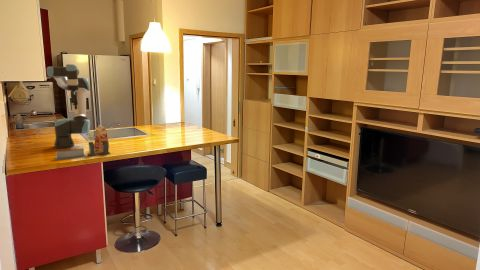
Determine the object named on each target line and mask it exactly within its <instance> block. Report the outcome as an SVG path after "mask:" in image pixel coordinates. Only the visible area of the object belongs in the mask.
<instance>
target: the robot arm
mask: <svg viewBox="0 0 480 270" xmlns="http://www.w3.org/2000/svg"><path fill="white" fill-rule="evenodd" d="M79 74H80V69H78V67H77V64H69V63H68V64H65V66H47V68H46V75H47V76H48V77H51V78H53V79H54V80H55V81H56V85H58V87H59V88H61V89H63V90H65V91H69V92H70V102H71V110H72V111H71V112H73V113H74V114H75V115H74V116H73V118H72V119H70V118H68V117H67V118H61V119H57V120H55V121H54V133H55V140H54V144H53V146H54V148H55V149H68V148H73V147H74V146H75V142H74V139H73V138H72V135H75V134H76V135H78V134H81V135H82V134H83V135H84V134H88V133H89V132H90V129H91V120H90V119H89V118H88V116H87V94H88V93H89V92H90V90H91V89H90V88H91V87H90V84H89V82H90V81H89V79H88V78H87V77H78V76H79Z"/></svg>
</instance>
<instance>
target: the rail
mask: <svg viewBox="0 0 480 270" xmlns="http://www.w3.org/2000/svg"><path fill="white" fill-rule="evenodd" d="M84 154H85V150H84V148H75V149H66V150H58V151H57V150H56V157H57V159H62V158H71V157H79V156H84Z"/></svg>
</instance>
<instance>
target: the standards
mask: <svg viewBox="0 0 480 270" xmlns="http://www.w3.org/2000/svg"><path fill="white" fill-rule="evenodd" d="M102 143H103V150H102V151H97V152H96V150H95V148H94V144H95V142H93V141H89V142H88V151H89V152H88V153H87V155H88V156H89V157H96V156H104V155H105V156H106V155H111V152H110V151H109V149H108V142H107V141H102Z"/></svg>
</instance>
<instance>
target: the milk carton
mask: <svg viewBox="0 0 480 270" xmlns="http://www.w3.org/2000/svg"><path fill="white" fill-rule="evenodd" d="M94 136H95V137H94V148H95V151H103V143H102V141H107V142H108V150H109V149H110V142H109V136H108V132H107V129H106V128H105V127H104V126H102V125H99V124H98V126H97V127H96V128H95V135H94Z"/></svg>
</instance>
